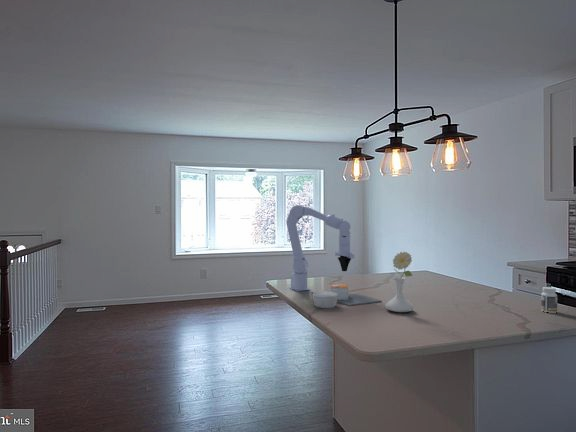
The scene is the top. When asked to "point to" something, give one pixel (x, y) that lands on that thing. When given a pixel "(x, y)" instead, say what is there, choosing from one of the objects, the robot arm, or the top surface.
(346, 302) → the grey mat
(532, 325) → the top surface
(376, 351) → the top surface
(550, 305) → the pill bottle
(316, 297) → the ramekin
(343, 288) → the small box
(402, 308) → the flower in vase
